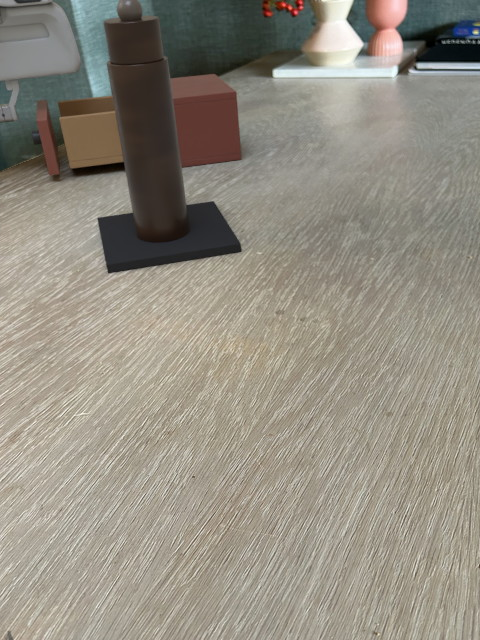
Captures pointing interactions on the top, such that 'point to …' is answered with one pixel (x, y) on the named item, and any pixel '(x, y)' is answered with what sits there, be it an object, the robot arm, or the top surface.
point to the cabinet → (206, 120)
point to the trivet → (201, 241)
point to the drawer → (80, 133)
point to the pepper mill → (146, 123)
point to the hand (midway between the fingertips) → (6, 121)
